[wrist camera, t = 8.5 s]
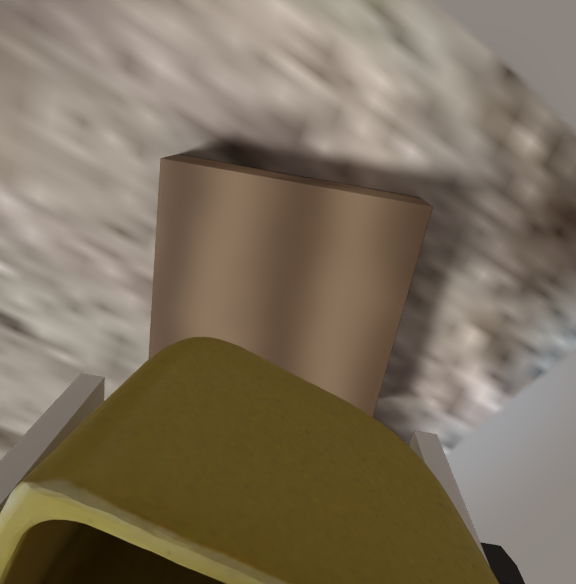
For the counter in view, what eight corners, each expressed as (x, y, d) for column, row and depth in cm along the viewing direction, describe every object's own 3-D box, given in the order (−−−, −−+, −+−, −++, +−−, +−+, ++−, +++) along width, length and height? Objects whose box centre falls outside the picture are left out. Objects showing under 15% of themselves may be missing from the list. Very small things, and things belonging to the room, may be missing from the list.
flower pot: (196, 257, 14) (7, 480, 5) (434, 383, 15) (597, 734, 6) (98, 454, 16) (-124, 800, 8) (302, 546, 18) (294, 933, 9)
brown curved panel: (161, 365, 30) (146, 390, 27) (177, 154, 25) (160, 158, 22) (366, 400, 30) (372, 429, 28) (422, 198, 25) (436, 207, 22)
